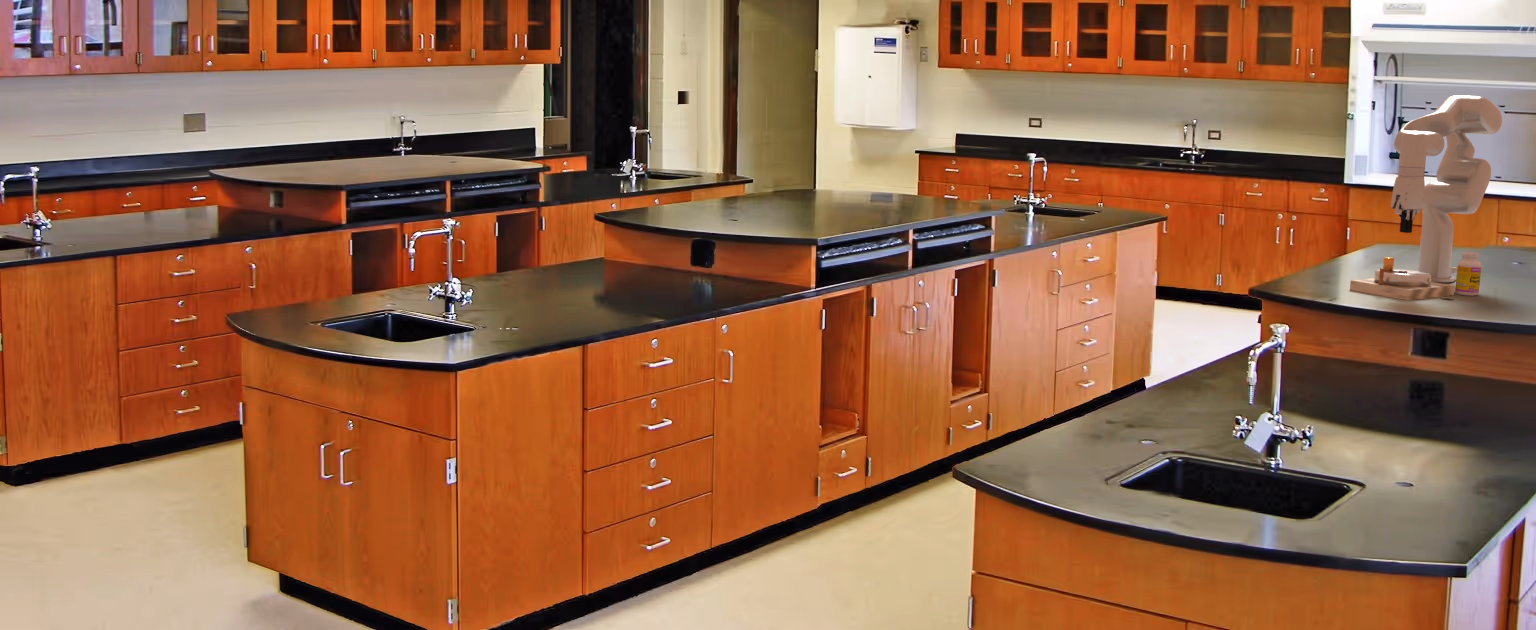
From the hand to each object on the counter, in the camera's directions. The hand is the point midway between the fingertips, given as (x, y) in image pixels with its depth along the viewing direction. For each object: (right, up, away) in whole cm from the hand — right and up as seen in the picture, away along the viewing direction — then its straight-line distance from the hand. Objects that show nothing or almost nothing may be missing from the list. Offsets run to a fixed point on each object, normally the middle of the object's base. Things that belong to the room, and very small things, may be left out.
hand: (1405, 232), depth 480 cm
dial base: (-3, -19, -5) cm, 20 cm away
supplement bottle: (+16, -19, -6) cm, 26 cm away
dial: (-3, -16, -5) cm, 17 cm away
